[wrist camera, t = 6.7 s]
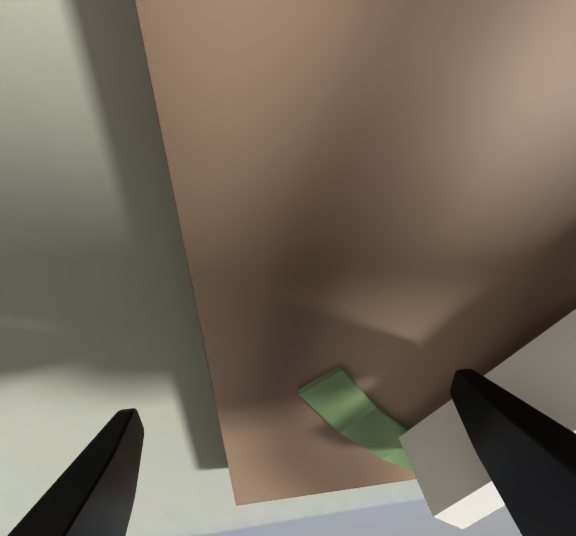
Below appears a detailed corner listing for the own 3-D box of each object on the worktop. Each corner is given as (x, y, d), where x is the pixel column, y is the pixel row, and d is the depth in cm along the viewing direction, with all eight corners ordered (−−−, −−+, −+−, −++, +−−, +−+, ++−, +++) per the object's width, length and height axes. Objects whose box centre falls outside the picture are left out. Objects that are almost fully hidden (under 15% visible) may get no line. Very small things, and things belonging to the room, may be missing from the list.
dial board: (1185, -232, 7) (1433, -314, 6) (680, 407, 17) (722, 438, 15) (97, -301, 5) (39, -457, 4) (236, 468, 15) (236, 511, 13)
